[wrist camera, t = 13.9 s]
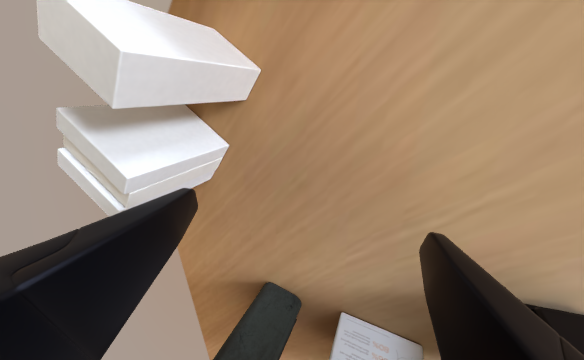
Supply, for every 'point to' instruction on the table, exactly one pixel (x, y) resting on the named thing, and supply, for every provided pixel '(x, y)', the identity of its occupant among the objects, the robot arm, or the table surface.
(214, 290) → the table surface
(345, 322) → the small box
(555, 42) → the table surface
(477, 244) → the table surface
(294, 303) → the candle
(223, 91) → the white tall block
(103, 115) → the white books
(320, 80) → the table surface
